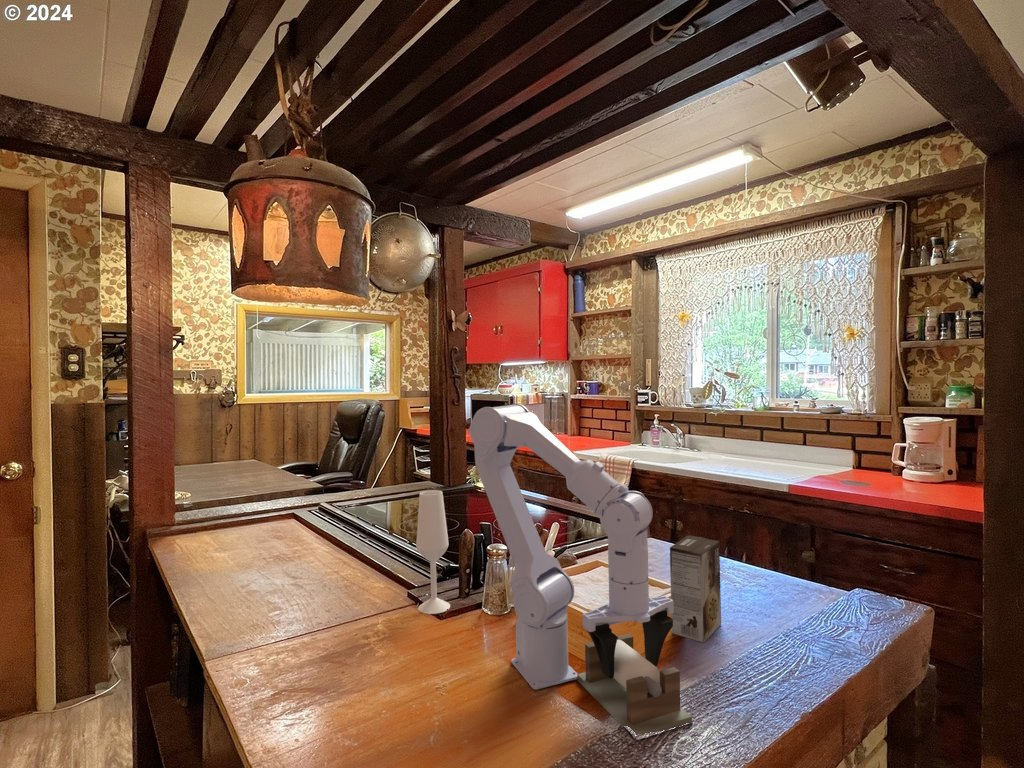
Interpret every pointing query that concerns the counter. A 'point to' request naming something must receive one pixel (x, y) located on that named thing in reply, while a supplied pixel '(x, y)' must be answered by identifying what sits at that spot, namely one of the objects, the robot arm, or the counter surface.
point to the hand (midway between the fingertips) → (630, 668)
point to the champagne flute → (432, 542)
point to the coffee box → (695, 587)
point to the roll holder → (635, 695)
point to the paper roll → (635, 668)
